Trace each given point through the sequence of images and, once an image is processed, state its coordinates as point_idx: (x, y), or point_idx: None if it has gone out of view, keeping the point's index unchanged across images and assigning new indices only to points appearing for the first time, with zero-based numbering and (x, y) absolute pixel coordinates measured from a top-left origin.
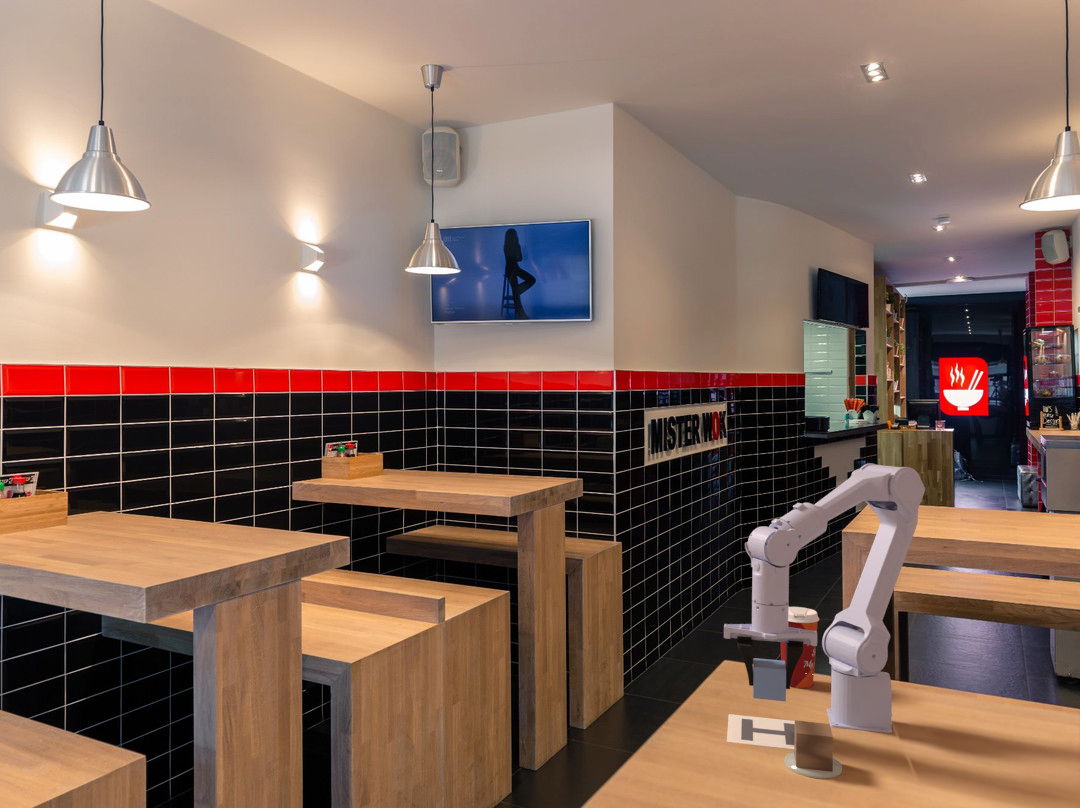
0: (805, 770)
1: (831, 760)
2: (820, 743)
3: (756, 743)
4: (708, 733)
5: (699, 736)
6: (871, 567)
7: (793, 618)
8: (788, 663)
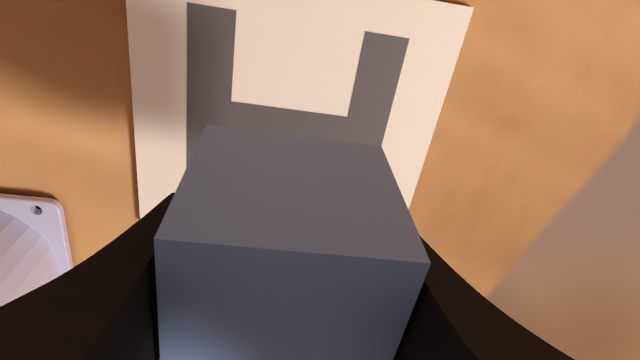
0: None
1: None
2: None
3: (356, 5)
4: (507, 99)
5: (550, 67)
6: None
7: None
8: (113, 294)
